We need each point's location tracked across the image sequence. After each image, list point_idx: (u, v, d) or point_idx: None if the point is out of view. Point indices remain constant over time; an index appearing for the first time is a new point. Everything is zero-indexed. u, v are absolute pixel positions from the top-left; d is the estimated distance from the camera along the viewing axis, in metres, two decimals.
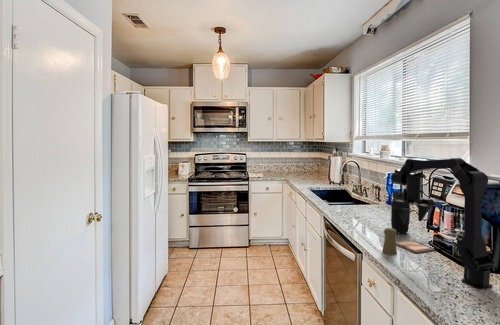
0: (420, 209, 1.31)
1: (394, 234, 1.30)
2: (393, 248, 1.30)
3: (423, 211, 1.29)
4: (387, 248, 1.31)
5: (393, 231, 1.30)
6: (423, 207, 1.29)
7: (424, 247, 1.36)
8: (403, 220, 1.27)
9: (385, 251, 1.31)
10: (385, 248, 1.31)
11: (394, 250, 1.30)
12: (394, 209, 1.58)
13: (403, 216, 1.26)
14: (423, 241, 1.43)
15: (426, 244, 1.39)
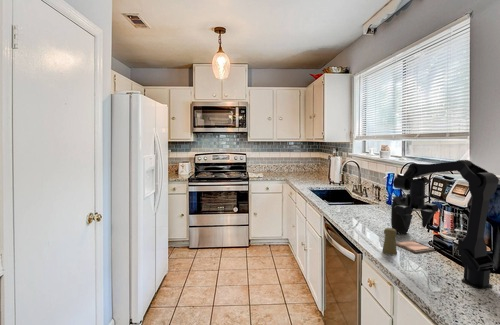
0: (424, 215, 1.27)
1: (394, 234, 1.30)
2: (393, 248, 1.30)
3: (427, 217, 1.26)
4: (387, 248, 1.31)
5: (393, 231, 1.30)
6: (427, 213, 1.26)
7: (424, 247, 1.36)
8: (406, 226, 1.24)
9: (385, 251, 1.31)
10: (385, 248, 1.31)
11: (394, 250, 1.30)
12: None
13: (407, 222, 1.23)
14: (423, 241, 1.43)
15: (426, 244, 1.39)
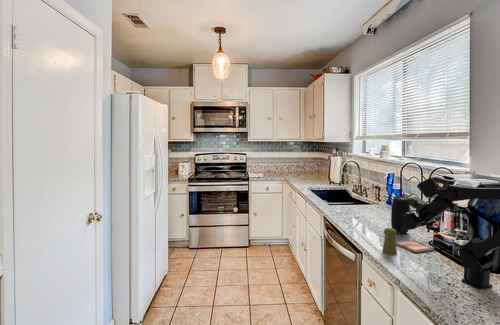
0: None
1: (394, 234, 1.30)
2: (393, 248, 1.30)
3: (424, 223, 1.23)
4: (387, 248, 1.31)
5: (393, 231, 1.30)
6: None
7: (424, 247, 1.36)
8: (403, 229, 1.21)
9: (385, 251, 1.31)
10: (385, 248, 1.31)
11: (394, 250, 1.30)
12: (394, 209, 1.58)
13: (406, 228, 1.19)
14: (423, 241, 1.43)
15: (426, 244, 1.39)
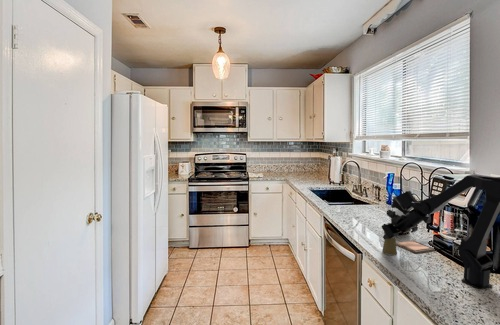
0: None
1: None
2: (393, 248, 1.30)
3: (400, 233, 1.31)
4: (387, 248, 1.31)
5: None
6: None
7: (424, 247, 1.36)
8: (385, 237, 1.31)
9: (385, 251, 1.31)
10: (385, 248, 1.31)
11: (394, 250, 1.30)
12: None
13: (388, 236, 1.29)
14: (423, 241, 1.43)
15: (426, 244, 1.39)
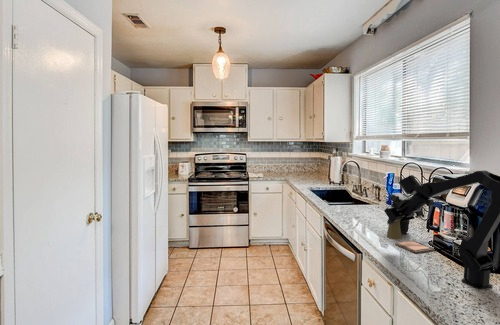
0: None
1: None
2: (397, 233, 1.31)
3: (404, 218, 1.32)
4: (391, 233, 1.32)
5: None
6: None
7: (424, 247, 1.36)
8: (389, 222, 1.32)
9: (389, 236, 1.32)
10: (389, 233, 1.32)
11: (398, 235, 1.31)
12: None
13: None
14: (423, 241, 1.43)
15: (426, 244, 1.39)
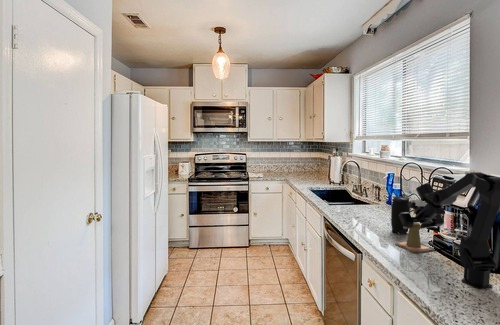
0: None
1: (416, 228, 1.35)
2: (414, 241, 1.35)
3: (427, 225, 1.35)
4: (409, 241, 1.37)
5: (415, 225, 1.35)
6: (429, 222, 1.34)
7: (424, 247, 1.36)
8: (404, 227, 1.37)
9: (407, 243, 1.38)
10: (407, 240, 1.38)
11: (416, 243, 1.35)
12: (394, 209, 1.58)
13: (405, 226, 1.35)
14: (423, 241, 1.43)
15: (426, 244, 1.39)
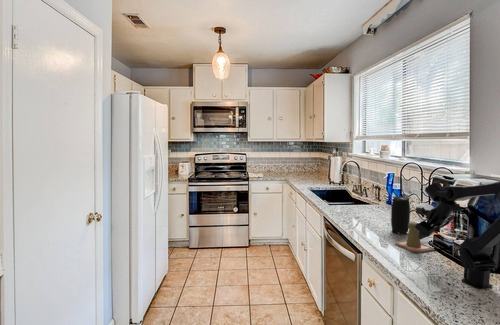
0: None
1: None
2: (414, 241, 1.35)
3: (440, 225, 1.26)
4: (409, 241, 1.37)
5: None
6: None
7: (424, 247, 1.36)
8: (420, 237, 1.24)
9: (407, 243, 1.38)
10: (408, 240, 1.38)
11: (416, 243, 1.35)
12: (394, 209, 1.58)
13: (423, 236, 1.22)
14: (423, 241, 1.43)
15: (426, 244, 1.39)
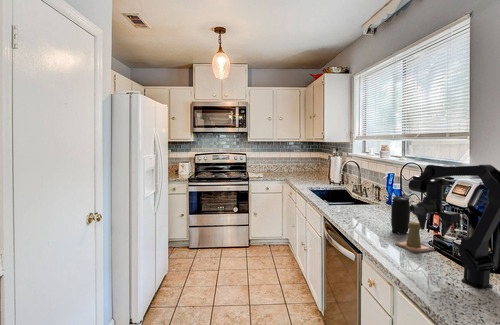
0: (422, 217, 1.24)
1: (416, 228, 1.35)
2: (414, 241, 1.35)
3: (425, 218, 1.24)
4: (409, 241, 1.37)
5: (415, 225, 1.35)
6: None
7: (424, 247, 1.36)
8: (444, 233, 1.15)
9: (407, 243, 1.38)
10: (407, 240, 1.38)
11: (416, 243, 1.35)
12: (394, 209, 1.58)
13: (448, 228, 1.14)
14: (423, 241, 1.43)
15: (426, 244, 1.39)
